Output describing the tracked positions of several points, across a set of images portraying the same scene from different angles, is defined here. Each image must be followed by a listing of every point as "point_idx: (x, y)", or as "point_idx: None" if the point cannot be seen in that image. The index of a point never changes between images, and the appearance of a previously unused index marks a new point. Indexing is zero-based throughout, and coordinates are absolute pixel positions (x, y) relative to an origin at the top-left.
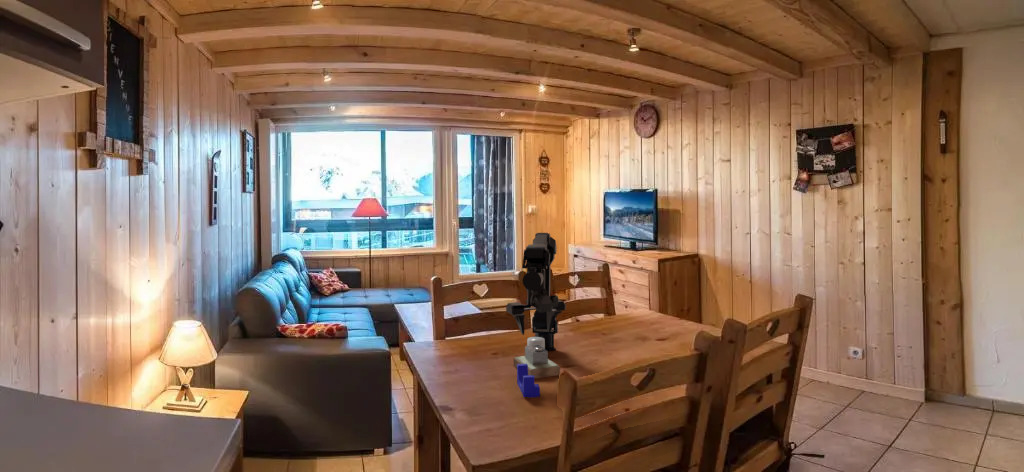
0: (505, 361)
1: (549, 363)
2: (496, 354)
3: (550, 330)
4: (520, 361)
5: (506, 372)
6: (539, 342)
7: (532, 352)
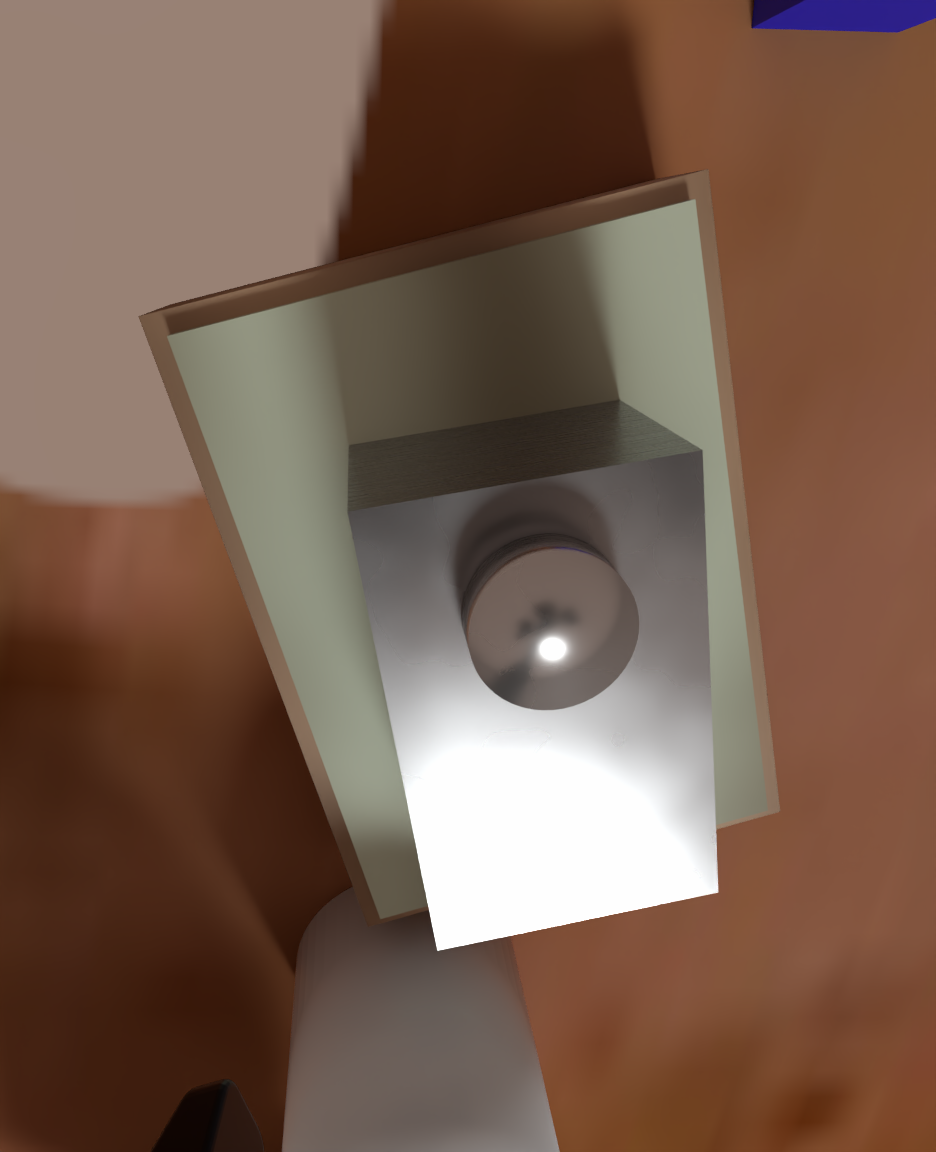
0: (778, 891)
1: (313, 463)
2: (803, 1090)
3: (167, 1133)
4: (744, 635)
5: (890, 516)
6: (389, 1111)
7: (701, 480)
